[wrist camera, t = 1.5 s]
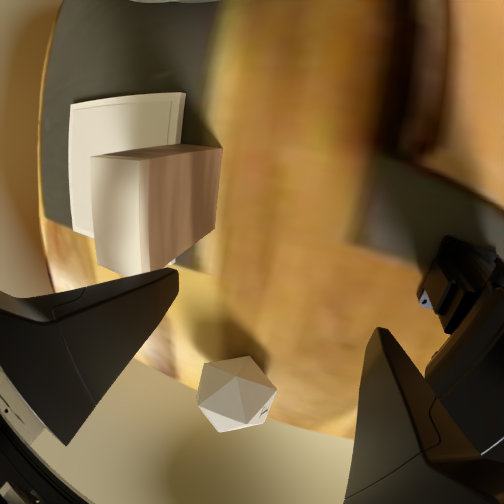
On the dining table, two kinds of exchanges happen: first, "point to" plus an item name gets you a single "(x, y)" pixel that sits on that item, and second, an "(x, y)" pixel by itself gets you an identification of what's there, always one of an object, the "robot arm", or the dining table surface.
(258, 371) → the die
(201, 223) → the walnut block
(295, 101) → the dining table surface
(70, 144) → the shallow cream tray
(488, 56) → the dining table surface
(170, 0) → the cake pan
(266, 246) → the dining table surface
